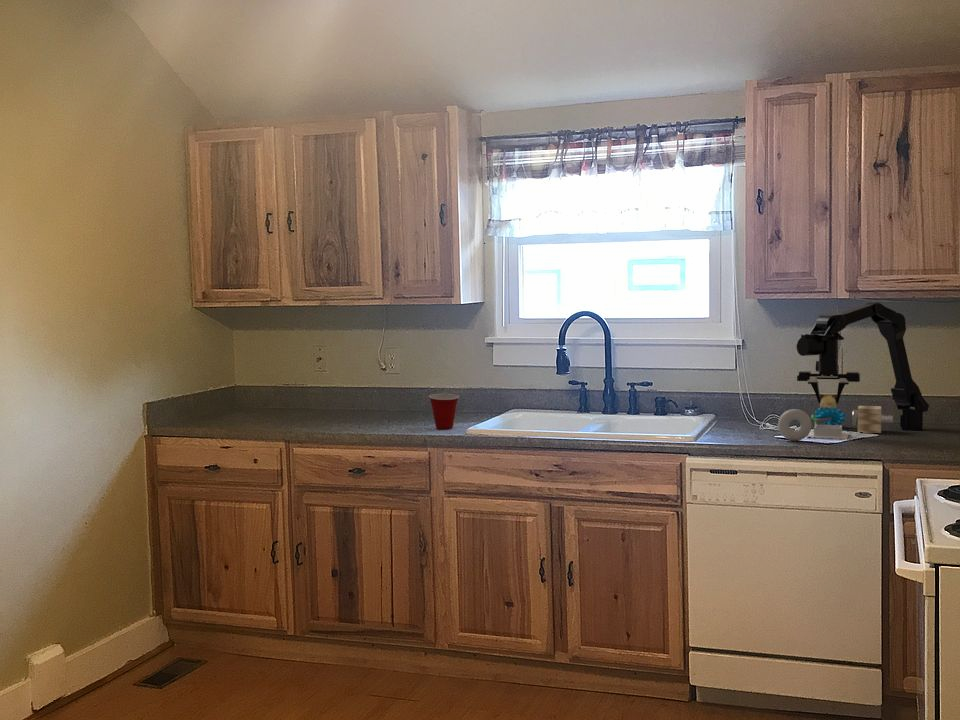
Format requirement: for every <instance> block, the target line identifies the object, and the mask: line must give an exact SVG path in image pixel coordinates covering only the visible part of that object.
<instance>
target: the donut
mask: <svg viewBox="0 0 960 720" xmlns="http://www.w3.org/2000/svg"><path fill="white" fill-rule="evenodd" d="M794 420H796V421H797V422H798V423H800V426H799V428H798V429H792V428H791V426H790V423H791V422H792V421H794ZM812 425H813V424H812V419H811V418H810V416H809V414H808V413H807V412H805V411H803V410H801V409H797V408H792V409H788V410H785V411H784V412H783V413H782V414H781V415H780V417H779V418H778V422H777V427H778V431H779V433H780V435H782V437H784V438H785V439H787V440H789V441H792V442H796V441H802V440H803V439H805V438H807V435H808V434H809V433H810V431H812V427H813V426H812Z"/></svg>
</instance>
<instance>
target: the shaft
mask: <svg viewBox="0 0 960 720" xmlns="http://www.w3.org/2000/svg"><path fill="white" fill-rule="evenodd" d="M851 414H852V416H851V418H852V419H851V421H852V423H851V425H852V426H858V409H852V411H851ZM881 423H894V415H893V414H881Z"/></svg>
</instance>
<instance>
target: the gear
mask: <svg viewBox="0 0 960 720" xmlns="http://www.w3.org/2000/svg"><path fill="white" fill-rule="evenodd" d="M836 408H837V407H836ZM836 408H823V407H820V406H819V408H818V409H817V410H815V412H814V414H811V418H810V419H811V421H812V420H813V422H814V427H815V425H818V423H819V424H822V423H824V424H823V425H841V424H842V422H845V420H846V413H845V412H843V409H841V408H838V409H836ZM836 410H837V411H836ZM814 427H813V428H814Z"/></svg>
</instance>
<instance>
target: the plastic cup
mask: <svg viewBox="0 0 960 720" xmlns="http://www.w3.org/2000/svg"><path fill="white" fill-rule="evenodd" d="M428 398H429V400H430V403H431V408H432V409H431V410H432V414H433V419H434V425H435V428H436V430H441V431H442V430H452V429H453V428H454V423H455V422H454V421H455V418H456V417H455V416H456V410H457V404H458V401H459V398H460V395H458V394H455V393H432V394H429V395H428Z"/></svg>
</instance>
